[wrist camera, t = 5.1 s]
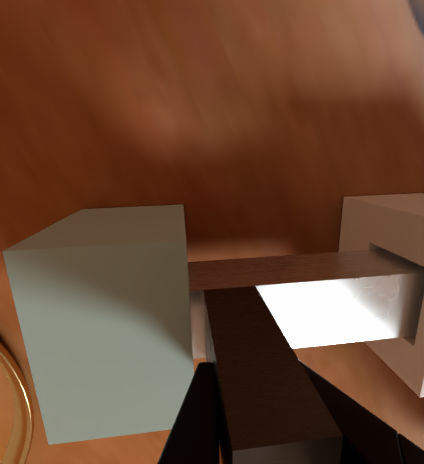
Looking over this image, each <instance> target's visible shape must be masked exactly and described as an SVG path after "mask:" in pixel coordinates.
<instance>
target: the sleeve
mask: <svg viewBox="0 0 424 464" xmlns="http://www.w3.org/2000/svg"><path fill="white" fill-rule="evenodd" d="M373 249H386V250H388V251H390V252H392V253H395V254H397V255H399V256H401V257H403V258H406V259H408V260H410V261H412V262H415V263H417V264H419V265H421V266H423V267H424V193H413V194H391V195H370V196H349V197H344V199H343V210H342V220H341V230H340V241H339V251H338V252H343V251H358V250H373ZM364 342H365V343H366V344H367V345H368V346H369V347H370V348H371V349H372V350H373V351H374V352H375V353H376V354H377V355H378V356H379V357H380V358H381V359H382V360H383V361H384V362H385V363H386V364H387V365H388V366H389V367H390V368H391V369H392V370H393V371H394V372H395V373H396V374H397V375H398V376H399V377H400V378H401V379H402V380H403V381H404V382H405V383H406V384H407V385H408V386H409V387H410V388H411V389H412V390H413V391H414V392H415V393H416V394H417V395H418V396H419V397H424V297H423V302H422V307H421V313H420V318H419V323H418V328H417V334H416V336H407V337H398V338H388V339H378V340H368V341H364Z"/></svg>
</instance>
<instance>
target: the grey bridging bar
mask: <svg viewBox="0 0 424 464" xmlns="http://www.w3.org/2000/svg"><path fill="white" fill-rule="evenodd" d="M188 280H189V298H190V315H191V333H192V351H193V359H194V358H203V357H206V359H207V362H212V364H213V369H214V374H215V380H216V385H217V391H218V413H219V449H220V464H340V459H341V451H342V442H343V434H342V433H341V431H340V429H339V428H338V426H337V424H336V423H335V421H334V419H333V417H332V416H331V414H330V412H329V411H328V409H327V407H326V405H325V404H324V402H323V400H322V399H321V397H320V395H319V394H318V392H317V390H316V388H315V387H314V385H313V383H312V382H311V380H310V378H309V377H308V375H307V373H306V371H305V370H304V368H303V366H302V365H301V363H300V361H299V359H298V358H297V356H296V354H295V353H294V351H293V349H292V348H300V347H310V346H320V345H330V344H339V343H349V342H359V341H368V340H378V339H388V338H398V337H407V336H416V334H417V328H418V323H419V318H420V313H421V307H422V302H423V297H424V267H423V266H421V265H419V264H417V263H415V262H412V261H410V260H408V259H406V258H403V257H401V256H399V255H397V254H395V253H392V252H390V251H388V250H386V249H373V250H358V251H343V252H329V253H314V254H299V255H285V256H270V257H255V258H241V259H226V260H211V261H197V262H188Z"/></svg>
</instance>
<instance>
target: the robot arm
mask: <svg viewBox="0 0 424 464" xmlns="http://www.w3.org/2000/svg"><path fill="white" fill-rule="evenodd" d="M299 361H300V360H299ZM300 363H301V365H302V366H303V368H304V370H305V371H306V373H307V375H308V377H309V378H310V380H311V382H312V383H313V385H314V387H315V388H316V390H317V392H318V394H319V395H320V397H321V399H322V400H323V402H324V404H325V405H326V407H327V409H328V411H329V412H330V414H331V416H332V417H333V419H334V421H335V423H336V424H337V426H338V428H339V429H340V431H341V433H342V434H343V442H342V451H341V459H340V464H424V450H422V449H421V448H420V447H418V446H417V445H415V444H414V443H413V442H411V441H410V440H408V439H407V438H406V437H404V436H403V435H402V434H398V433H397V431H396V430H394V429H393V428H392V427H390V426H389V425H388V424H386V423H385V422H383V421H382V420H381V419H379V418H378V417H377V416H375V415H374V414H372V413H371V412H370V411H368V410H367V409H366V408H364V407H363V406H361V405H360V404H359V403H357V402H356V401H355V400H353V399H352V398H350V397H349V396H348V395H346V394H345V393H344V392H342V391H341V390H339V389H338V388H337V387H335V386H334V385H333V384H331V383H330V382H328V381H327V380H326V379H324V378H323V377H322V376H320V375H319V374H317V373H316V372H315V371H313V370H312V369H311V368H309V367H308V366H306V365H305V364H304V363H302V362H301V361H300ZM157 464H220V449H219V413H218V391H217V385H216V380H215V374H214V369H213V364H212V362H201V363H199V364H198V366H197V368H196V371H195V373H194V376H193V378H192V381H191V383H190V385H189V388H188V390H187V393H186V395H185V398H184V400H183V402H182V405H181V407H180V410H179V412H178V415H177V417H176V419H175V422H174V424H173V427H172V429H171V432H170V434H169V437H168V439H167V441H166V444H165V446H164V449H163V451H162V454H161V456H160V458H159V461H158V463H157Z"/></svg>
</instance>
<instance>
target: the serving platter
mask: <svg viewBox="0 0 424 464" xmlns="http://www.w3.org/2000/svg"><path fill="white" fill-rule="evenodd" d="M0 365H1V367H2V369H3V370H4V372H5V374H6V376H7V379H8V381H9V383H10V386H11V389H12V393H13V398H14V405H15V417H14V424H13V429H12V433H11V436H10V439H9V443H8V446H7V449H6V453H5V456H4V459H3V462H2V464H25V463H26V460H27V457H28V454H29V451H30V448H31V444H32V439H33V432H34V412H33V406H32V400H31V396H30V393H29V390H28V386H27V384H26V381H25V379H24V377H23V374H22V372H21V371H20V369H19V367H18V365H17V364H16V362H15V360H14V359H13V357H12V356H11V355H10V353H9V352H8V351H7V349H6V348H5V347H4V346H3V345H2V344H1V342H0ZM23 402H24V403H23ZM24 429H25V430H24ZM23 434H24V435H23ZM21 442H22V443H21Z"/></svg>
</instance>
